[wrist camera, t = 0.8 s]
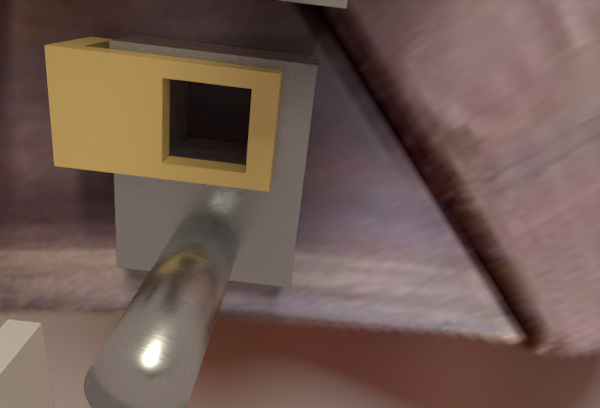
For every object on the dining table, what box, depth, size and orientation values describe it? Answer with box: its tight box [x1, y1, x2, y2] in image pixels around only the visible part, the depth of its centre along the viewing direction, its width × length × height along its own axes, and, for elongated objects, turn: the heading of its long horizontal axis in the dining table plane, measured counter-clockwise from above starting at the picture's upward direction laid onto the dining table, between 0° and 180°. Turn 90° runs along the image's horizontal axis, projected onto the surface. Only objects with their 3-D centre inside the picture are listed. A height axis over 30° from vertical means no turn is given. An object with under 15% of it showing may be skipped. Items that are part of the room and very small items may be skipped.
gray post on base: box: [84, 34, 318, 408], centre depth 27 cm, size 15×12×18 cm
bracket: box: [44, 37, 282, 192], centre depth 32 cm, size 7×13×6 cm, turn 83°
